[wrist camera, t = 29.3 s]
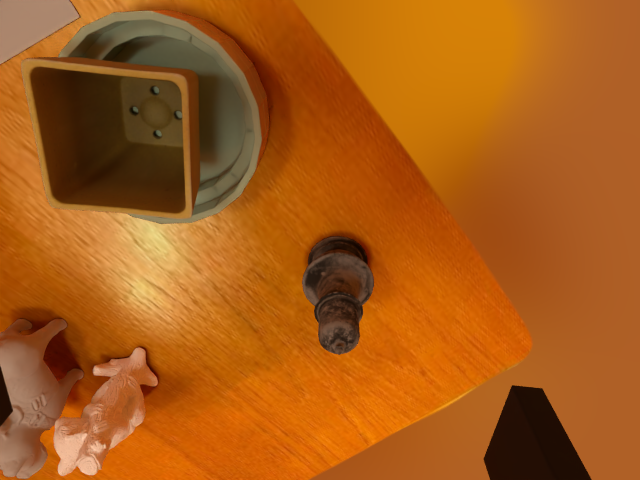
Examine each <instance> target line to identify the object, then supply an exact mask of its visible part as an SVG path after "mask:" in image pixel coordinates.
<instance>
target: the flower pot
mask: <svg viewBox="0 0 640 480" xmlns="http://www.w3.org/2000/svg"><path fill="white" fill-rule="evenodd" d="M21 71H22V77H23V83H24V87H25V93H26V97H27V101H28V106H29V111H30V116H31V121H32V126H33V131H34V135H35V141H36V146H37V151H38V156H39V162H40V168H41V173H42V179H43V184H44V190H45V194H46V197H47V199H48V202H49V204H50V205H51V207H53V208H57V209H67V210H82V211H98V212H115V213H127V214H136V215H145V216H154V217H164V218H173V219H188V218H191V217H192V214H193V209H194V205H195V201H196V197H197V193H198V189H199V184H200V143H199V79H198V76H197V74H196V73H195V72H194V71H193V70H190V69H182V68H170V67H158V66H149V65H139V64H131V63H122V62H113V61H105V60H97V59H89V58H80V57H39V58H27V59H24V60H23V61H22V62H21ZM154 86H156V87H157V88H158V89H159V93H158V94H154V93H153V92H152V90H151V89H152V87H154ZM132 107H136V108H137V109H138V114H133V113H132V112H131V108H132ZM176 111H180V112H181V113H182V118H180V119H178V118H176V117H175V112H176ZM156 130H159V131H160V132H161V134H162V136H161V137H156V136H155V134H154V132H155V131H156Z"/></svg>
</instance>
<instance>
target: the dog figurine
mask: <svg viewBox="0 0 640 480" xmlns="http://www.w3.org/2000/svg"><path fill="white" fill-rule="evenodd" d="M66 327H67V323H66V321H65V320H64V319H55V320H52V321H51V322H50V323H48V324H47V325H46V326H45V327H43V328H41V329H40V330H37V331H36V332H35V333H33V334H30V335H21V334H20V332H21V331H23V330H29V329H31V328H32V324H31V323H30V322H29V321H27V320H25V319H17V320H16V321H15V322H14V323H13V324H12V325H11V326H10V327H9V328H8V329H6V330H5V331H3V332H1V333H0V366H1V370H2V373H3V377H4V380H5V384H6V387H7V391H8V394H9V398H10V401H11V405H12V408H13V412H12V413H11V414H10V416H9V417H8V418H7V419H6V420H5V422H4V423H3V424H2V425H1V427H0V469H1V470H3V474H4V475H5V476H6V477H13V476H16V477H17V478H22V479H27V478H29V477H31V476H32V475H33V474H35V473H36V472H37V471H39V470H40V469H41V468H42V466H43V465H44V463H45V461H46V459H47V456H48V454H47V450H46V448H45V446H44V445H43V443H41V442H40V436H41V434H42V433H43V432H44V431H45V430H50V428H51V427H52V426H54V425H55V422H56V420H57V419H59V417H60V416H61V414H62V411H63V409H64V406H65V403H66V400H67V397H68V395H69V393H70V390H71V388H72V386H73V385H74V384H75V383H76V381H77V380H80V379H82V378H83V376H84V373H83V371H82V370H80V369H72V370H71V371H67V375H66V376H65V377H64V378H63V379H61V380H59V381H57V379H56V378H55V376H54V375H53V373H52V372H51V370H50V369H49V367H48V366H47V365H46V364H45V362H44V361H43V357H44V352H45V349H46V347H47V344H48V343H49V341H50V340H51V339H52V338H53V337H54V336H55V335H56V334H57V333H58V332H59V331H61V330H63V329H65V328H66Z"/></svg>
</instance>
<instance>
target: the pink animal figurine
mask: <svg viewBox="0 0 640 480" xmlns="http://www.w3.org/2000/svg"><path fill="white" fill-rule="evenodd" d="M93 373H94V375H96V376H109V377H111V378H110V379H109V380H108V381H107V382H105V383H104V384H103V385H102V386H101V387H100V388H99V389H98V390H97V392H96V393H95V395H93V397H92V400H91V404H88V405H87V406H86V407H85V408H84V410H83V413H82V415H81V418H68V417H62V418H59V419H57V420H56V422H55V433H54V447H55V449H56V451H57V453H58V455H59V457H60V458H61V460H60V463H59V465H58V473H59V474H60V475H61V476H64V475H66V474H68V473H71V472H72V471H73V469H75V468H76V467H77V466H78V467H79V469H80V471H81V472H83V473H85V474H88V475H95V474H96V473H97V472H98V470H99V469H100V470H101V469H102V464H103V461H104V459H105V457H106V455H107V454H108V451H109V450H110V449H111V448H113V447H115V446H116V445H117V444H118V443H119V442H121V441H122V440H123V439H125V438H126V437H127V436H128V435H130V434H131V433H132V432H133V431H134V430H135V427H136V426H138V425H140V424H141V423H142V421H143V420H144V418H145V413H146V411H145V406H144V395H143V393H142V390H141V388H140V385H142V384H145V385H148V386H156V385H157V384H158V380H157V377H156V376H155V375H154V374H153V372H151V371H150V369H149V367H148V366H147V365H146V351H145V350H144V349H142V348H139V347H138V348H136V349H135V350H134V351H133V353H132V355H131V356H130V357H129V358H123V359H111V360H110V361H109V362H108V363H104V364H100V365H95V366H94V369H93Z"/></svg>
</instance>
